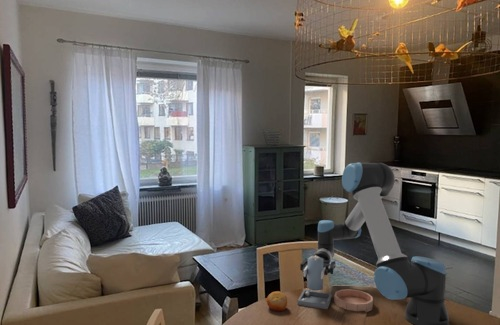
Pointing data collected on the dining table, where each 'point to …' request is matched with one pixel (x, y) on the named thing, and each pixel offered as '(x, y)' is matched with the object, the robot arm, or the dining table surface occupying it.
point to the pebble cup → (314, 273)
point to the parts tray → (315, 299)
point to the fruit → (277, 301)
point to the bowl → (353, 300)
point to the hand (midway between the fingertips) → (313, 274)
